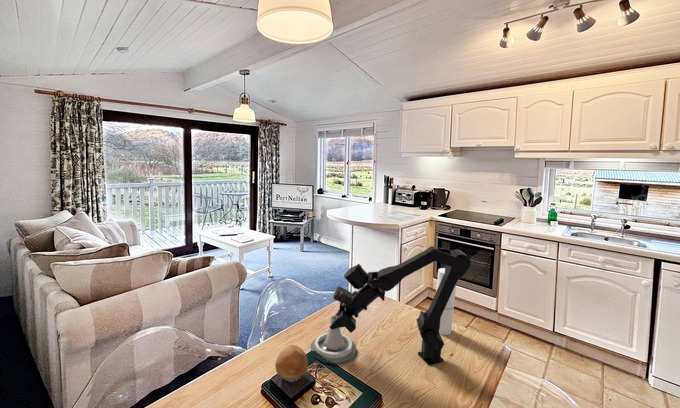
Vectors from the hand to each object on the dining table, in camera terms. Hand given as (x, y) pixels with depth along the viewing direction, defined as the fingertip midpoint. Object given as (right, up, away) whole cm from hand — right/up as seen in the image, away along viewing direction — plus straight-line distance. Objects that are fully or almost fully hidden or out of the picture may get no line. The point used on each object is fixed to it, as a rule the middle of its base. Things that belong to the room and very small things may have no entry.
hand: (330, 325), depth 108 cm
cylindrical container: (+45, -9, +18) cm, 49 cm away
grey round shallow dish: (+1, -9, +1) cm, 9 cm away
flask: (+1, -7, +1) cm, 7 cm away
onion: (-12, -11, -14) cm, 21 cm away
